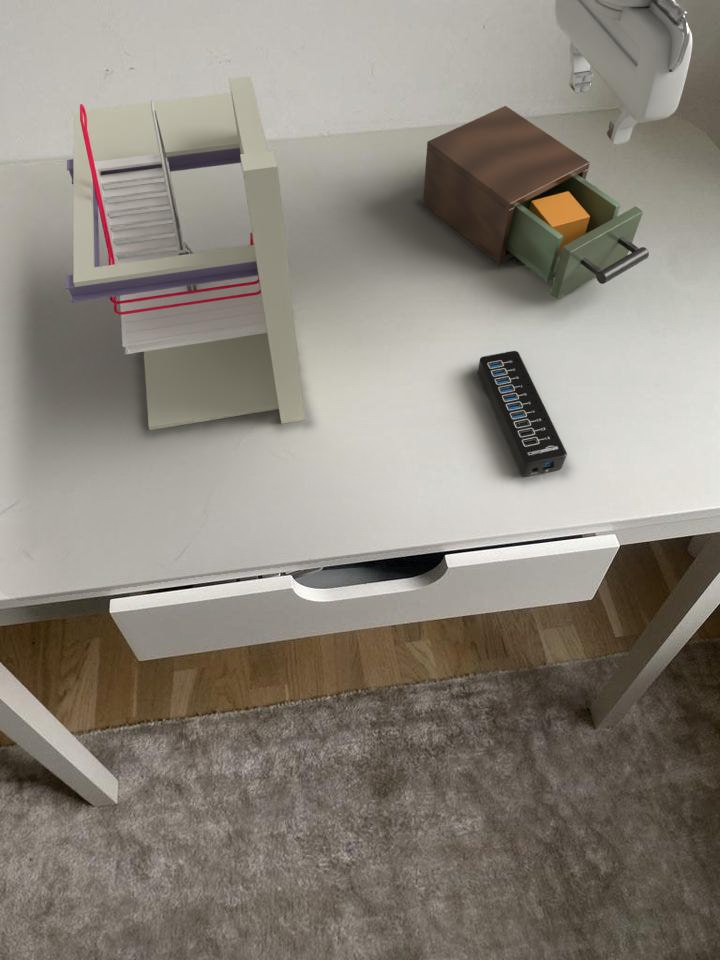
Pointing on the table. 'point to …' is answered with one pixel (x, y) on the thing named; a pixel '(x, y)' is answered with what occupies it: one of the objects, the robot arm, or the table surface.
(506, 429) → the multiport hub
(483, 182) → the cabinet
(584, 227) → the block
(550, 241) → the drawer
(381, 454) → the table surface
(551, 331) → the table surface
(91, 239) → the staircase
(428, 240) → the table surface
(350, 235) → the table surface
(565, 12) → the robot arm
